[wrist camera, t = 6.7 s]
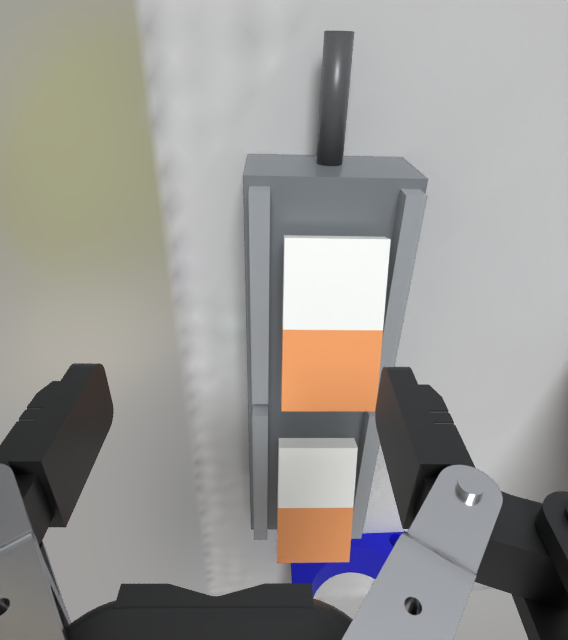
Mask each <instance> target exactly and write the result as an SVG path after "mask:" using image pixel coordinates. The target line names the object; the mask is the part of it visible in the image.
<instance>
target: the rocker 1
mask: <svg viewBox="0 0 568 640" xmlns="http://www.w3.org/2000/svg"><path fill="white" fill-rule="evenodd" d="M390 241H391V239H389V238H386V237H369V236H301V235H284V253H283V311H282V369H281V411H375V408H376V402H377V395H378V383H379V371H380V360H381V348H382V336H383V324H384V312H385V300H386V288H387V277H388V265H389V253H390Z"/></svg>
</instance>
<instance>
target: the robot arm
mask: <svg viewBox="0 0 568 640" xmlns="http://www.w3.org/2000/svg"><path fill="white" fill-rule="evenodd" d="M112 418H113V403H112V399H111V395H110V391H109V386H108V382H107V378H106V374H105V370H104V367H103V365H102V364H72V365H71V366H70V367H69V369H68V370H67V372H66V374H65V375H64V377H63V378H62V380H61V381H52V382H51V383H50V384H49V385H47V386H46V387H44V388H43V389H42V390H40V391H39V392H38V393H37V394H36V395H35V397H34V398H33V399H32V401H31V402H30V404H29V405H28V406H27V410H25V411H24V412H23V414H22V415H21V416H20V418H19V422H16V424H15V425H14V426H13V428H12V429H11V431H10V432H9V433H8V435H7V436H6V438H5V439H4V441H3V442H2V443H1V445H0V640H453V638H454V636H455V633H456V630H457V627H458V625H459V622H460V619H461V617H462V614H463V611H464V609H465V606H466V603H467V601H468V598H469V595H470V592H471V590H472V587H473V584H474V582H477V583H480V584H483V585H486V586H489V587H493V588H496V589H499V590H502V591H505V592H508V593H511V594H512V596H513V599H514V602H515V604H516V607H517V610H518V612H519V615H520V618H521V620H522V623H523V626H524V628H525V631H526V633H527V636H528V639H529V640H568V492H554V493H551V494H549V495H548V496H547V497H546V498H545V500H544V502H543V504H542V503H538V502H535V501H531V500H527V499H523V498H520V497H516V496H513V495H510V494H507V493H504V492H502V491H501V490H500V488H499V487H498V485H497V484H496V482H495V481H494V480H493V479H492V478H491V477H489V476H488V475H487V474H485V473H484V472H482V471H480V470H479V469H476V468H475V466H474V464H473V462H472V460H471V457H470V455H469V453H468V451H467V449H466V447H465V445H464V443H463V441H462V438H461V436H460V434H459V432H458V430H457V428H456V426H455V425H454V422H453V420H452V417H451V415H450V413H448V409H447V407H446V405H445V403H444V401H443V398H442V397H441V396H440V395H439V394H438V393H437V392H436V391H435V390H434V389H433V388H432V387H431V386H430V385H418V384H417V381H416V379H415V376H414V374H413V372H412V369H411V368H410V367H383V369H382V372H381V377H380V383H379V389H378V395H377V402H376V408H375V421H376V428H377V432H378V436H379V440H380V444H381V447H382V451H383V455H384V459H385V463H386V467H387V470H388V474H389V478H390V482H391V486H392V489H393V493H394V497H395V501H396V505H397V508H398V512H399V516H400V520H401V524H402V528H403V529H409V530H408V532H405V531H404V532H403V533H402V534H401V536H400V537H399V539H398V540H397V542H396V544H395V546H394V548H393V549H392V551H391V553H390V555H389V556H388V558H387V560H386V562H385V564H384V565H383V567H382V569H381V571H380V572H379V574H378V576H377V578H376V580H375V581H374V583H373V585H372V587H371V588H370V590H369V592H368V594H367V596H366V597H365V599H364V601H363V603H362V605H361V606H360V608H359V610H358V612H357V613H356V615H355V617H354V619H351V618H350V617H349V616H347V615H346V614H345V613H344V612H342V611H340V610H338V609H337V608H335V607H334V606H331V605H329V604H327V603H325V602H322V601H319V600H316V599H313V590H312V584H262V585H259V586H255V587H251V588H248V589H244V590H240V591H237V592H233V593H229V594H226V595H222V596H209V595H206V594H202V593H199V592H195V591H192V590H188V589H185V588H181V587H178V586H174V585H171V584H121V586H120V590H119V593H118V597H117V600H116V601H113V602H109V603H107V604H104V605H102V606H99V607H97V608H95V609H93V610H91V611H89V612H88V613H86V614H84V615H83V616H82V617H80V618H78V619H77V620H75V621H74V622H72V623H71V620H70V617H69V615H68V612H67V610H66V607H65V604H64V601H63V598H62V595H61V593H60V589H59V586H58V584H57V581H56V578H55V575H54V572H53V569H52V566H51V563H50V560H49V557H48V554H47V551H46V548H45V546H44V543H43V541H42V539H43V538H44V535H45V533H46V531H47V529H48V527H66V525H67V523H68V521H69V519H70V516H71V514H72V512H73V510H74V508H75V505H76V503H77V501H78V498H79V496H80V494H81V492H82V489H83V487H84V485H85V483H86V481H87V478H88V476H89V474H90V472H91V469H92V467H93V465H94V463H95V460H96V458H97V456H98V453H99V451H100V449H101V447H102V445H103V442H104V440H105V438H106V436H107V433H108V431H109V429H110V426H111V424H112Z"/></svg>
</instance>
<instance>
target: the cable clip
mask: <svg viewBox="0 0 568 640" xmlns="http://www.w3.org/2000/svg"><path fill="white" fill-rule="evenodd" d="M402 533H403V532H392V533H366V534H362V537H361V539H351V546H350V560H349V562H323V563H291V576H292V584H312V590H313V597H314V595H315V593H316V591H317V590H318V588H319V587H320V586H321V585H322V584H323V583H324V582H325V581H326V580H328V579H329V578H331V577H333V576H335V575H337V574H341V573H346V572H355V573H361V574H365V575H368V576H370V577H372V578H374V579H376V578H377V576H378V574H379V572H380V571H381V569H382V567H383V565H384V564H385V562H386V560H387V558H388V556H389V555H390V553H391V551H392V549H393V548H394V546H395V544H396V542H397V540H398V539H399V537H400V536H401V534H402Z"/></svg>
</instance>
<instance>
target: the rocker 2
mask: <svg viewBox="0 0 568 640" xmlns="http://www.w3.org/2000/svg"><path fill="white" fill-rule="evenodd" d="M357 451H358V447H357V445H356V442H355V439H354V438H279V445H278V507H277V563H323V562H349V560H350V546H351V533H352V519H353V506H354V492H355V478H356V465H357Z"/></svg>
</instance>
